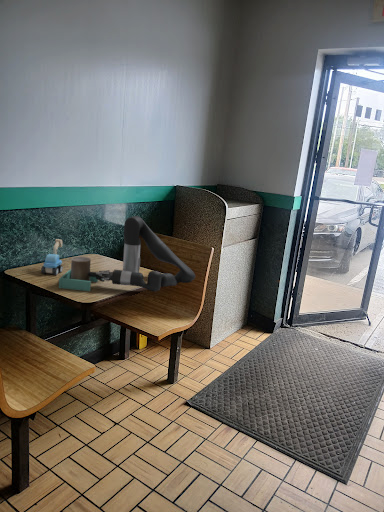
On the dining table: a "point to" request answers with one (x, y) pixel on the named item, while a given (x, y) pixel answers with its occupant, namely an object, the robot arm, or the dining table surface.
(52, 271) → the toy excavator
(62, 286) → the teal square tray
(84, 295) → the dining table surface
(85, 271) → the pillar candle
